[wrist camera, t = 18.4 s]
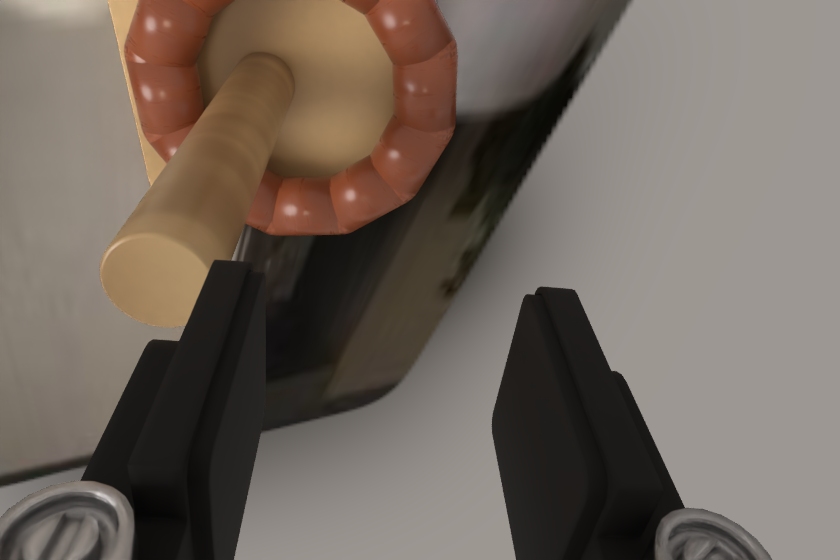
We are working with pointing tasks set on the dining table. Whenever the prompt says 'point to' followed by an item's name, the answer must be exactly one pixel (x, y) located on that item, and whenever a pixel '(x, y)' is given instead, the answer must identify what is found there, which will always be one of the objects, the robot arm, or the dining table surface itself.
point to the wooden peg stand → (245, 140)
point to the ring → (309, 196)
